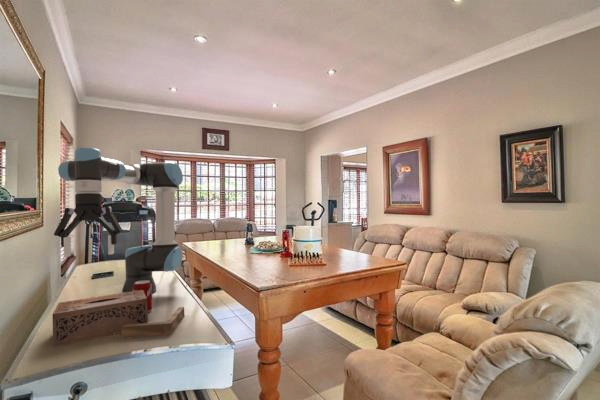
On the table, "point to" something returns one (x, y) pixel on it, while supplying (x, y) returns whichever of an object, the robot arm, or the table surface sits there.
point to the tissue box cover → (97, 316)
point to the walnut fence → (154, 326)
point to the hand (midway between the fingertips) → (89, 255)
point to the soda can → (145, 291)
